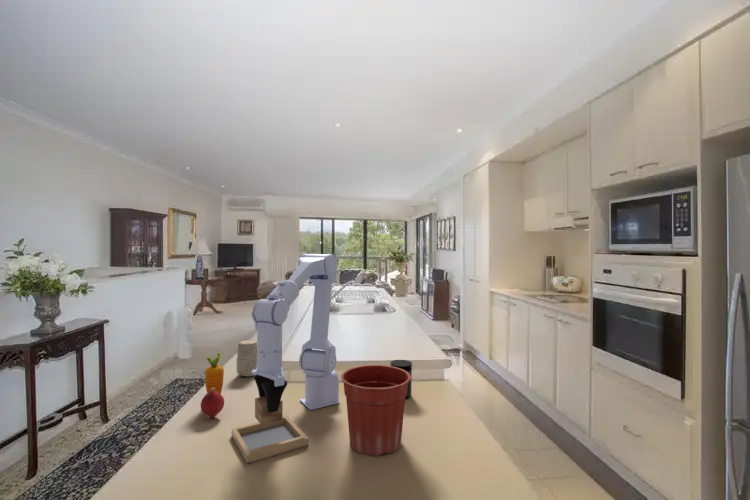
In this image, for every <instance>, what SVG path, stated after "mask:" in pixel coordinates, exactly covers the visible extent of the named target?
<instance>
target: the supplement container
mask: <svg viewBox="0 0 750 500" xmlns="http://www.w3.org/2000/svg"><path fill="white" fill-rule="evenodd" d="M389 364H390V365H389V366H392V367H397V368H400V369H403V370H405V371H407V372H408V373H409V374H410V376H411V378H410V381H409V382H408V388H407V395H406V397H405V401H406V400H409V399H410V398H412V394H413V393H412V391H413V390H412V387H413V384H412V383H413V382H412V380H413V378H412V377H413V376H412V373H413V372H412V371H413V362H412V361H410V360H407V359H394V360H391V361H390V363H389Z"/></svg>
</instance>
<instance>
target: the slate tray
mask: <svg viewBox="0 0 750 500" xmlns="http://www.w3.org/2000/svg"><path fill="white" fill-rule="evenodd" d="M231 438H232V439H233V442H234V444H235V445H236V448H237V449H238V450H239V453H240V454H241V455H242V457H243V459H244V460H245V463H246V464H247V465H248V464H252V463H255V462H258V461H262V460H265V459H268V458H272V457H275V456H279V455H282V454H285V453H288V452H292V451H296V450H299V449H302V448H306V447H308V446H309V437H308V436H307V435H306V433H305V432H304V431H302V429H301V428H300V427H298V425H297V424H296V423H295V422H294V421H293V420H292V419H291V418H290V417H289V415H287V414H286V415H282V420H280V421H276V422H272V423H268V424H264V425H261V424H260V423H259V422H258V421H257V422H255V423H251V424H246V425H241V426H238V427H233V428H231Z"/></svg>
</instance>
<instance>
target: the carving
mask: <svg viewBox="0 0 750 500" xmlns="http://www.w3.org/2000/svg"><path fill="white" fill-rule="evenodd" d="M236 354H237V355H236V356H237V357H236V374H237V375H238V376H241V377H253V374H252V370H255V369H256V368H257V341H256V340H254V339H253V340H252V339H247V340H242V341H239V343H238V345H237V351H236Z"/></svg>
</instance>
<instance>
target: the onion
mask: <svg viewBox="0 0 750 500" xmlns="http://www.w3.org/2000/svg"><path fill="white" fill-rule="evenodd" d="M215 390H216V388H212V389H211V390H210V392H208V393H207V392H206V394H205V395H204V396H203V398H202V399H201V402H200V411H201V412H202V414H203V415H204V416H206V417H208V418H210V419H214V418H215V417H216V416H217V415H218V414H219V413H221V412H222V411H223V409H224V406H225V398H224V397H223V395H222V393H221V394H220V393H219V392H217V391H215Z"/></svg>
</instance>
